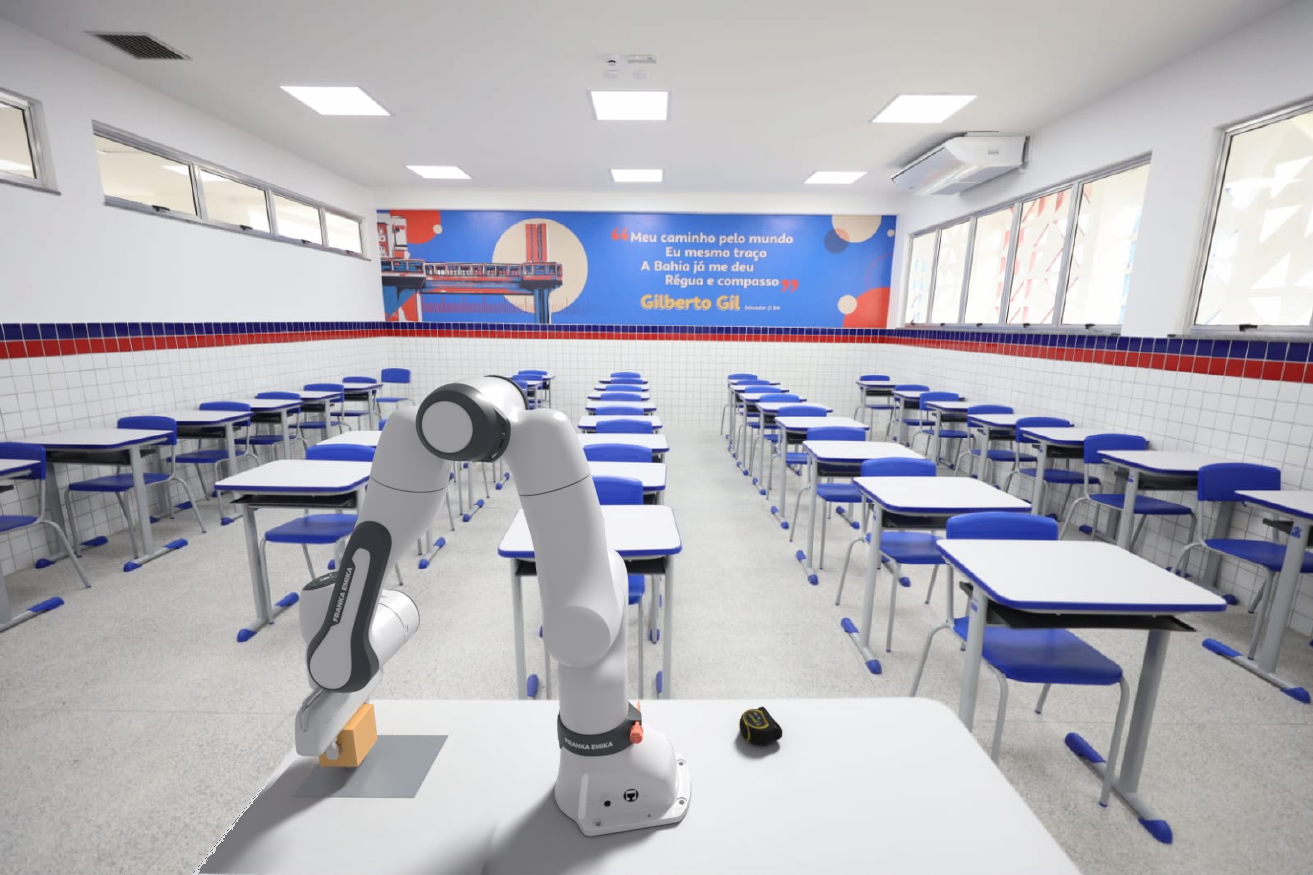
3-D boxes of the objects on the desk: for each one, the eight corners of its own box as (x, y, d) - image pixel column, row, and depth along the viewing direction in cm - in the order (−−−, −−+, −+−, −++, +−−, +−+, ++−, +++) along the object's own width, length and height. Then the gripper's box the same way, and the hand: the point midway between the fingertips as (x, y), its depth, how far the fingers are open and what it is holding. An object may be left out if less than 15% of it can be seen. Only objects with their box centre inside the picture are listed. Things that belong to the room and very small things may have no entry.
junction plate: (449, 742, 104) (446, 713, 103) (415, 805, 90) (411, 772, 89) (343, 741, 105) (339, 713, 104) (293, 804, 91) (288, 772, 90)
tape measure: (783, 744, 102) (784, 726, 101) (749, 753, 100) (750, 735, 99) (765, 720, 108) (766, 702, 108) (733, 728, 106) (733, 710, 106)
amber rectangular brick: (377, 738, 100) (373, 703, 99) (357, 766, 94) (352, 729, 92) (342, 738, 100) (337, 703, 99) (320, 766, 94) (314, 729, 93)
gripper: (318, 708, 84) (330, 788, 86) (387, 634, 104) (395, 700, 106) (276, 707, 84) (290, 787, 86) (353, 633, 104) (362, 700, 107)
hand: (348, 739), depth 97 cm, fingers closed on amber rectangular brick, 6 cm apart
